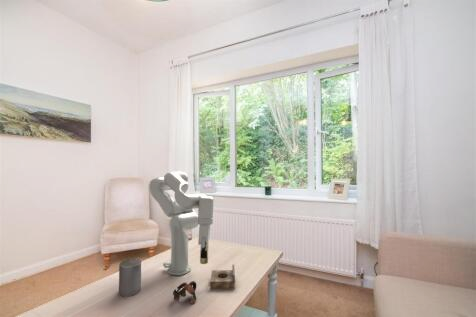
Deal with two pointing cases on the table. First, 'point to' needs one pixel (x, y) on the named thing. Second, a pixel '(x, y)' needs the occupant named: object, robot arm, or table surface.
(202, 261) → the gold cylinder
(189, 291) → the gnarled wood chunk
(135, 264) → the pillar candle
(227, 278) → the jig
